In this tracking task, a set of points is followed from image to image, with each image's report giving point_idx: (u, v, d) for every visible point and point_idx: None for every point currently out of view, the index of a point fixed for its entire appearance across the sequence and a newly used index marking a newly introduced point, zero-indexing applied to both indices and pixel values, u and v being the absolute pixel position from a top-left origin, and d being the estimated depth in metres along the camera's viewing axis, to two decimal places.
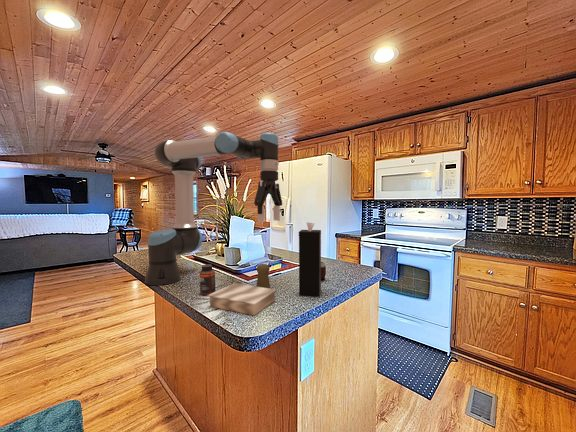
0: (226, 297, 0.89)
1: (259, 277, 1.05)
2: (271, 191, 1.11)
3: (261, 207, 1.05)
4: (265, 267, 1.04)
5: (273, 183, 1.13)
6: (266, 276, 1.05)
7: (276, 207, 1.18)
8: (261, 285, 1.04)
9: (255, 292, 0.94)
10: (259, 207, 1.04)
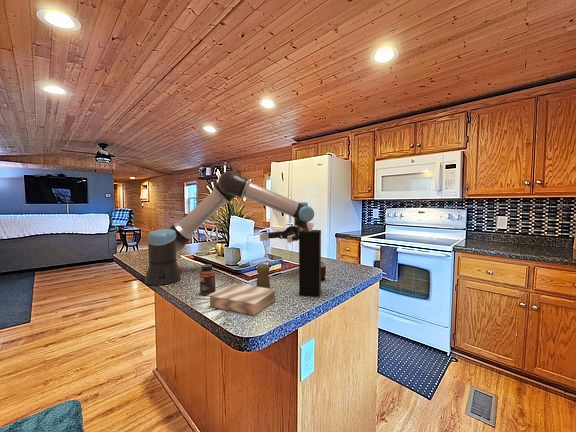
0: (226, 297, 0.89)
1: (259, 277, 1.05)
2: (286, 237, 1.26)
3: (295, 239, 1.16)
4: (265, 267, 1.04)
5: None
6: (266, 276, 1.05)
7: (267, 236, 1.22)
8: (261, 285, 1.04)
9: (255, 292, 0.94)
10: (297, 238, 1.16)
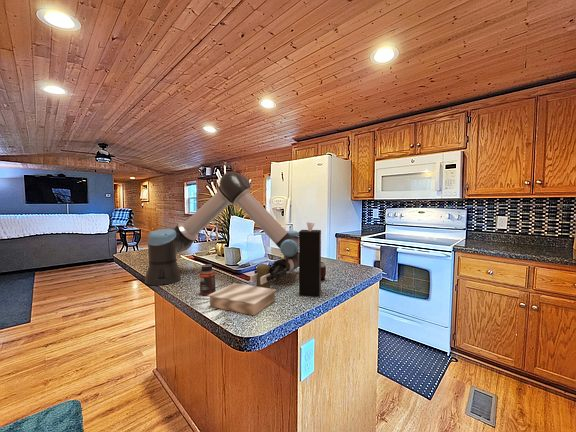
0: (226, 297, 0.89)
1: (259, 277, 1.05)
2: None
3: None
4: (265, 267, 1.04)
5: None
6: None
7: None
8: (261, 285, 1.04)
9: (255, 292, 0.94)
10: (272, 277, 1.05)
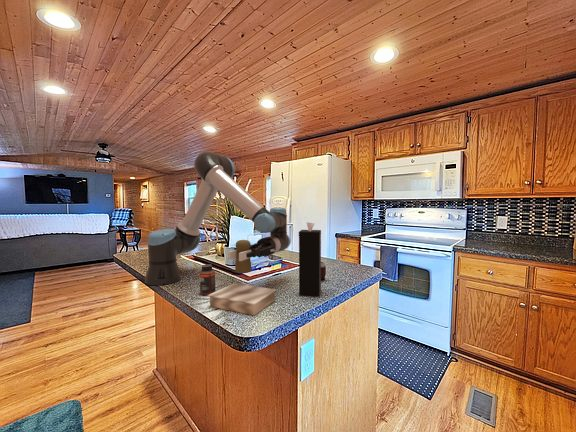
0: (226, 297, 0.89)
1: (238, 254, 0.92)
2: None
3: None
4: (245, 243, 0.91)
5: None
6: None
7: None
8: (240, 263, 0.91)
9: (255, 292, 0.94)
10: (253, 254, 0.92)
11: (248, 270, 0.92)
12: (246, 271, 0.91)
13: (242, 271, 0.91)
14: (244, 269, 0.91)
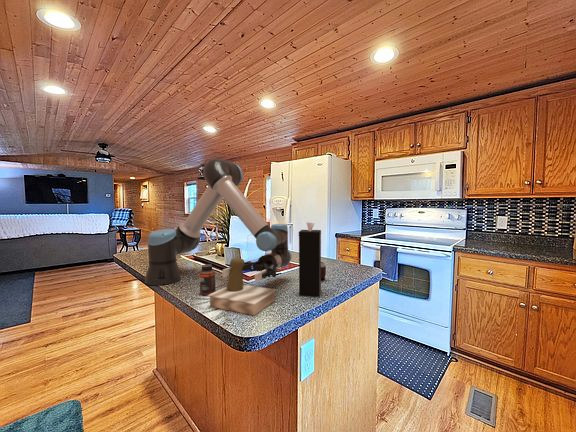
0: (226, 297, 0.89)
1: (231, 271, 0.96)
2: None
3: None
4: (239, 261, 0.96)
5: None
6: (239, 271, 0.96)
7: None
8: (232, 280, 0.95)
9: (255, 292, 0.94)
10: (268, 274, 0.93)
11: (239, 288, 0.95)
12: (237, 289, 0.95)
13: (233, 288, 0.95)
14: (235, 287, 0.95)
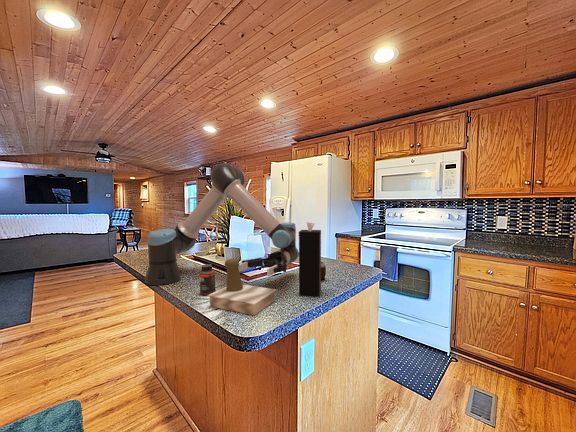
0: (226, 297, 0.89)
1: (228, 273, 0.95)
2: (269, 266, 1.09)
3: None
4: (233, 262, 0.94)
5: None
6: (235, 272, 0.95)
7: (246, 265, 1.06)
8: (230, 282, 0.95)
9: (255, 292, 0.94)
10: (279, 269, 1.00)
11: (239, 288, 0.95)
12: (237, 289, 0.95)
13: (233, 289, 0.94)
14: (234, 288, 0.95)
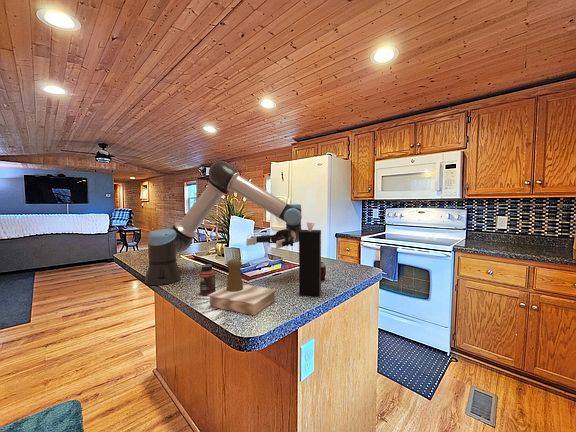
0: (226, 297, 0.89)
1: (229, 273, 0.95)
2: None
3: (285, 244, 1.06)
4: (236, 262, 0.95)
5: None
6: (237, 272, 0.96)
7: (255, 240, 1.12)
8: (231, 282, 0.95)
9: (255, 292, 0.94)
10: (287, 243, 1.06)
11: (239, 289, 0.95)
12: (237, 290, 0.95)
13: (233, 290, 0.94)
14: (235, 288, 0.95)
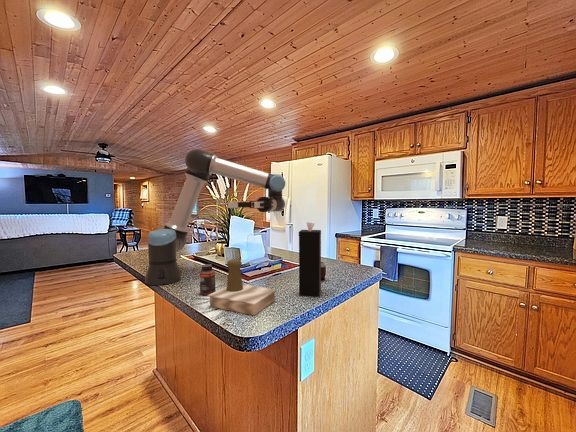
0: (226, 297, 0.89)
1: (229, 273, 0.95)
2: None
3: (264, 206, 1.15)
4: (236, 262, 0.95)
5: None
6: (237, 272, 0.96)
7: (237, 205, 1.20)
8: (231, 282, 0.95)
9: (255, 292, 0.94)
10: (265, 205, 1.14)
11: (239, 289, 0.95)
12: (237, 290, 0.95)
13: (233, 290, 0.94)
14: (235, 288, 0.95)
